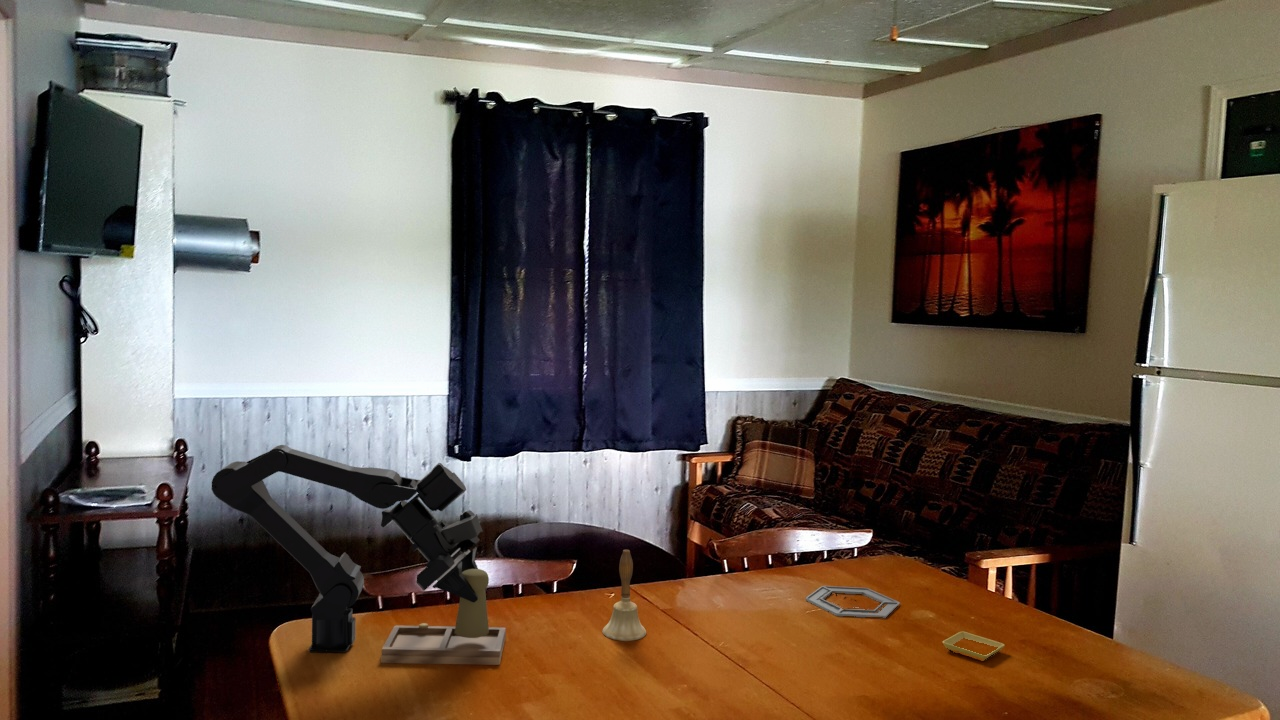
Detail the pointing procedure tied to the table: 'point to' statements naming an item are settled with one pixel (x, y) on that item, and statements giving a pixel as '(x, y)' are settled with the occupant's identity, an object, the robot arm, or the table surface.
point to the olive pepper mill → (473, 607)
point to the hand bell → (625, 608)
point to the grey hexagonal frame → (825, 591)
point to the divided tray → (442, 646)
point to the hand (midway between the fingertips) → (480, 595)
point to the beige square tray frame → (957, 637)
